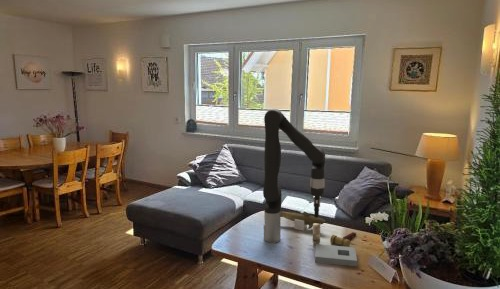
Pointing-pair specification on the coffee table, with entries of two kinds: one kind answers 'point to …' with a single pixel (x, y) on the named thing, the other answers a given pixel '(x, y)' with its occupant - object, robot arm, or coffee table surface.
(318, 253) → the board
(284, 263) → the coffee table surface
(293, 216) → the wood carving
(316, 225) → the peg
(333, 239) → the gavel
